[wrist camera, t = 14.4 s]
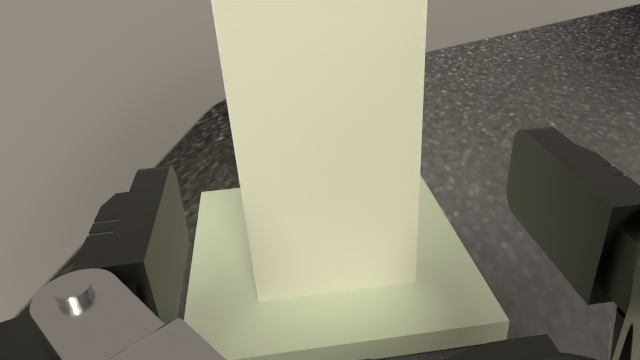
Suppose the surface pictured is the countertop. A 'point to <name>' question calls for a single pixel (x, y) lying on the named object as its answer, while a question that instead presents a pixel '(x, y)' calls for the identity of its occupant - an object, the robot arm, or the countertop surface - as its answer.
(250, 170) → the cover
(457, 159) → the countertop surface
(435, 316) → the mat
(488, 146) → the countertop surface
